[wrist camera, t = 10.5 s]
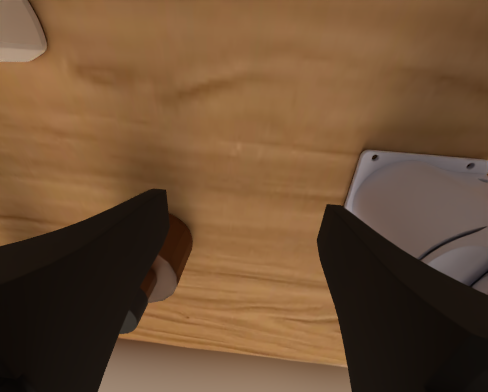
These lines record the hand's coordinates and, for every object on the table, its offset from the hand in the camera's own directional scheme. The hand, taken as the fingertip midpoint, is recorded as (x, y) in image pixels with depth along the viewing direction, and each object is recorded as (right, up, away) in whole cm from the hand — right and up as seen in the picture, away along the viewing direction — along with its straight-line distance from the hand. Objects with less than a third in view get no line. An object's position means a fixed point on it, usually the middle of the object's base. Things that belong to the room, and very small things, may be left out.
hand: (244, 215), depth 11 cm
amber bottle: (-9, -3, +13) cm, 16 cm away
